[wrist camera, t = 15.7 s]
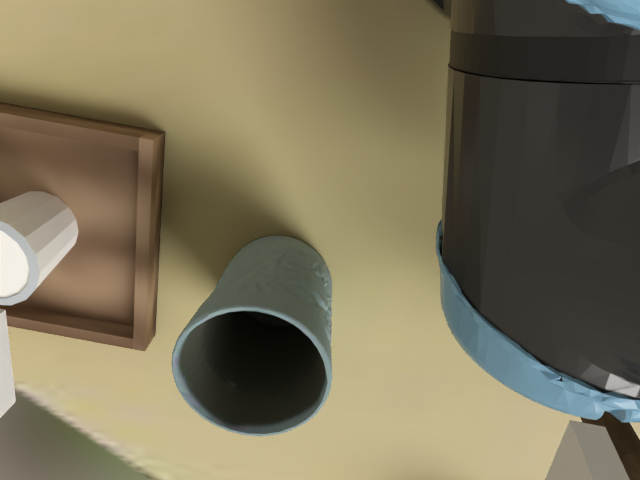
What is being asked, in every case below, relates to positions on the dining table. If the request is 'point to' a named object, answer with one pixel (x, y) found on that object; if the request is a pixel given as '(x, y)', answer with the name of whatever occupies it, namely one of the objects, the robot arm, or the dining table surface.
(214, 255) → the dining table surface
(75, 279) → the tray
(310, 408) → the blue cup
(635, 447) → the stick grenade
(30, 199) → the white cup
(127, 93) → the dining table surface
